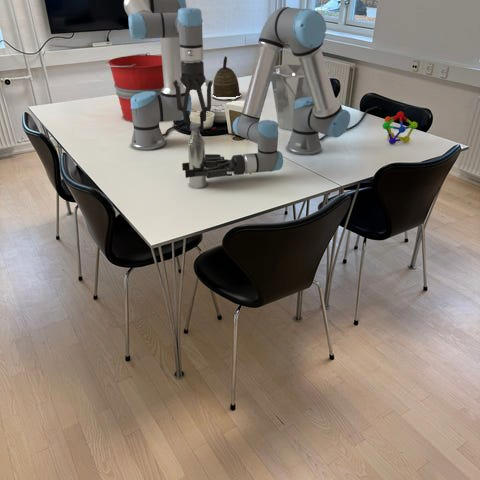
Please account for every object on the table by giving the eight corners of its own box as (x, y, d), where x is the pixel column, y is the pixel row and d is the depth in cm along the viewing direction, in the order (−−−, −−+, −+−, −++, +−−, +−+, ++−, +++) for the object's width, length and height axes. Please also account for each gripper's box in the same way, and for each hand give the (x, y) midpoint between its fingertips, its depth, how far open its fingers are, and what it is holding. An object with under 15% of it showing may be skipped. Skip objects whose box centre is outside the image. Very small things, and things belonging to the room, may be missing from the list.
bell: (227, 105, 294) (202, 96, 282) (238, 66, 289) (213, 55, 277) (243, 108, 280) (217, 98, 268) (255, 66, 275) (229, 55, 263)
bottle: (205, 188, 167) (202, 130, 155) (189, 187, 167) (185, 130, 156) (207, 181, 172) (204, 125, 161) (191, 181, 173) (188, 124, 161)
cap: (203, 130, 157) (202, 126, 157) (191, 132, 156) (191, 127, 155) (199, 127, 161) (199, 122, 160) (188, 128, 160) (187, 124, 159)
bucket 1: (122, 106, 262) (115, 52, 246) (181, 107, 261) (178, 52, 245) (105, 124, 232) (96, 64, 216) (172, 125, 231) (167, 64, 216)
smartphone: (201, 167, 182) (204, 154, 195) (201, 169, 182) (204, 155, 195) (218, 167, 182) (220, 154, 195) (218, 169, 182) (220, 155, 195)
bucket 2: (296, 138, 215) (301, 78, 201) (255, 124, 234) (256, 68, 219) (335, 125, 232) (342, 70, 217) (294, 113, 251) (297, 61, 236)
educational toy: (377, 146, 209) (379, 114, 202) (384, 138, 219) (386, 107, 211) (411, 149, 202) (415, 116, 195) (417, 141, 212) (420, 109, 204)
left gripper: (164, 62, 143) (169, 132, 156) (217, 63, 143) (218, 133, 155) (168, 58, 150) (173, 126, 162) (219, 59, 149) (220, 127, 161)
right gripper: (250, 183, 165) (188, 190, 159) (236, 164, 180) (180, 169, 175) (250, 164, 161) (187, 170, 155) (236, 146, 176) (179, 151, 171)
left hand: (195, 129), depth 158 cm, fingers closed on cap, 4 cm apart
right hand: (184, 170), depth 165 cm, fingers closed on bottle, 6 cm apart
